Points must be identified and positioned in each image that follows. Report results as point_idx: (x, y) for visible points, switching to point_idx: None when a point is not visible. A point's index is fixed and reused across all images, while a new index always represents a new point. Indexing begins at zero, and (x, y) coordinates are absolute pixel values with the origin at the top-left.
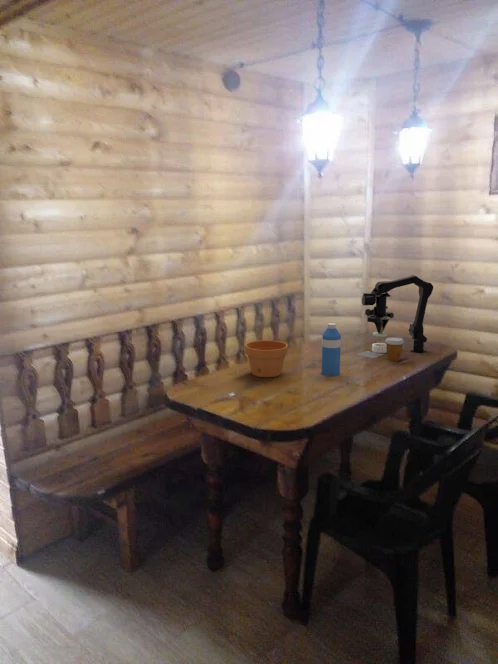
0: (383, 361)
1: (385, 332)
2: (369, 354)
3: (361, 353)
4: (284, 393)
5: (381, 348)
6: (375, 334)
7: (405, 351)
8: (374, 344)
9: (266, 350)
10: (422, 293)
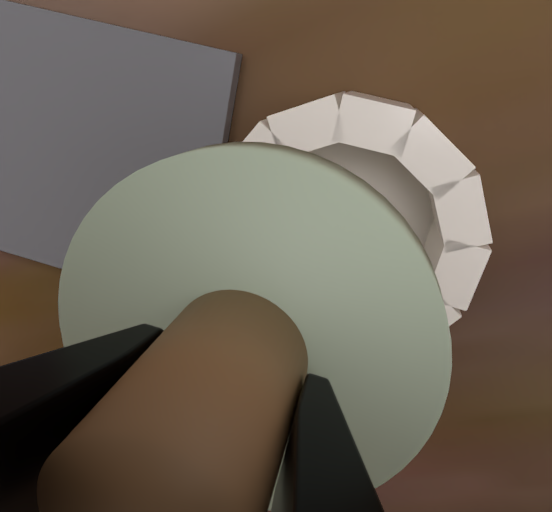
0: (12, 340)
1: (374, 460)
2: (84, 155)
3: (61, 37)
4: None
5: None
6: (65, 272)
7: (513, 468)
8: (324, 141)
9: None
10: None
